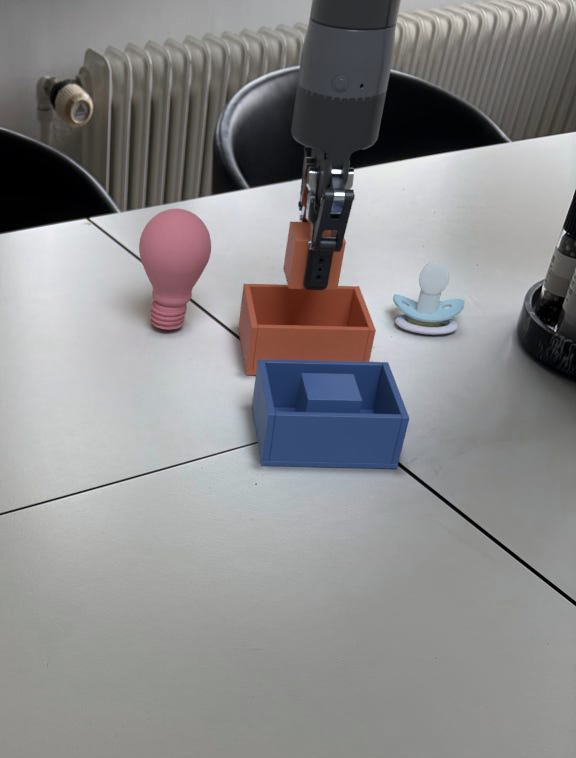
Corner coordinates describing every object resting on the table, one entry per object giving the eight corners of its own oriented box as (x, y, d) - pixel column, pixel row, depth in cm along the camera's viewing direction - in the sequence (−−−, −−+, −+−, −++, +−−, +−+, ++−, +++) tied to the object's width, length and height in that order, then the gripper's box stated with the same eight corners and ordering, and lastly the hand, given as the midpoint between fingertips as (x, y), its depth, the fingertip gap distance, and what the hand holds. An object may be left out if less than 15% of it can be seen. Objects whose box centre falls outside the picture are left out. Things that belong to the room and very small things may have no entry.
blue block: (344, 419, 94) (353, 373, 91) (352, 447, 91) (362, 400, 88) (293, 418, 94) (301, 372, 91) (300, 446, 91) (307, 399, 88)
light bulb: (216, 324, 109) (227, 208, 101) (181, 349, 105) (190, 231, 97) (158, 306, 112) (165, 192, 104) (122, 330, 108) (126, 213, 100)
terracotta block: (330, 270, 101) (338, 222, 98) (337, 290, 98) (346, 241, 95) (283, 268, 101) (290, 221, 98) (288, 288, 98) (295, 240, 95)
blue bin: (377, 411, 97) (388, 361, 93) (397, 469, 89) (409, 418, 86) (251, 408, 97) (257, 358, 93) (261, 465, 90) (268, 414, 86)
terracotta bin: (350, 332, 108) (359, 286, 105) (366, 377, 101) (376, 329, 98) (238, 329, 108) (243, 283, 105) (245, 375, 101) (251, 327, 98)
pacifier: (462, 341, 107) (457, 314, 112) (478, 284, 103) (472, 257, 107) (390, 335, 108) (387, 309, 112) (403, 278, 104) (400, 252, 108)
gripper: (403, 107, 83) (362, 311, 94) (372, 59, 93) (338, 248, 105) (309, 104, 83) (279, 308, 94) (289, 57, 93) (264, 246, 105)
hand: (311, 275), depth 99 cm, fingers closed on terracotta block, 4 cm apart
